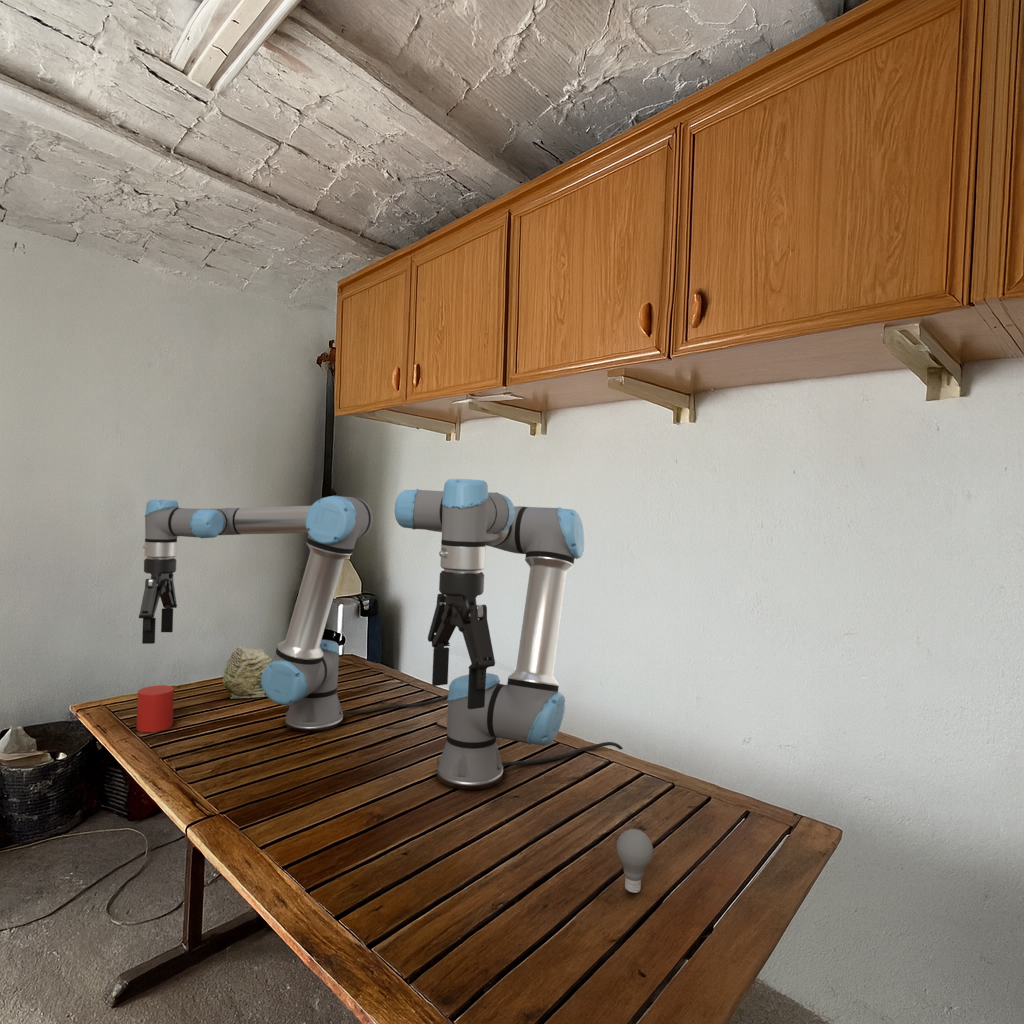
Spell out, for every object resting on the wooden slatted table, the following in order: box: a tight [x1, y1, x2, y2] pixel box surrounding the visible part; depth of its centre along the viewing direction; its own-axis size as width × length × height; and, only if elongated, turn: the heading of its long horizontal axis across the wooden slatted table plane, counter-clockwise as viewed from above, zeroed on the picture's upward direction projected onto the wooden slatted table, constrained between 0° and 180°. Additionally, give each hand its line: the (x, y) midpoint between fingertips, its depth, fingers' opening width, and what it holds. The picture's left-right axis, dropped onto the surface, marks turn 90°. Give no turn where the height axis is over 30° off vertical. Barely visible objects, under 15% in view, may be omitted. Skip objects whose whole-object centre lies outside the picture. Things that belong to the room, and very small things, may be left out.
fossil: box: [222, 646, 274, 699], centre depth 198 cm, size 9×18×15 cm, turn 132°
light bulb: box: [615, 828, 654, 894], centre depth 106 cm, size 6×6×10 cm
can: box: [135, 684, 175, 733], centre depth 168 cm, size 8×8×10 cm
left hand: (158, 637), depth 168 cm, fingers open, 13 cm apart
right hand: (456, 695), depth 107 cm, fingers open, 13 cm apart
